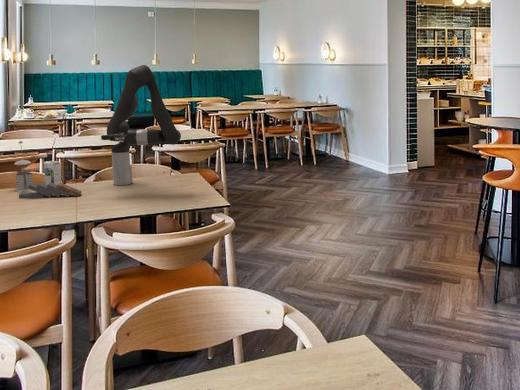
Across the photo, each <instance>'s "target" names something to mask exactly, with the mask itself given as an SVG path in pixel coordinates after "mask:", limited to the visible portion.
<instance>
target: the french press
mask: <svg viewBox="0 0 520 390" xmlns="http://www.w3.org/2000/svg"><path fill="white" fill-rule="evenodd" d="M23 143H24V142H23V141H22V140H19V141H18V144H19V145H22V144H23ZM20 150H21V154H23V150H22V147H20ZM31 164H32V162H31V161H30V160H28V159H23V157H21V159H20V160H16V161H15V162H14V164H13V165H14V166H22V167H21V169H20V170H16V171H15V172H16V174H15V180H16V181H15V182H16V188H15V190H16V191H15V192H18V191H24V192H31V191H33V190H31V189H28V186H29V185H30V184H31V183H34V181H33V180H34V179H33V173H32V170H31V169H27V168H26V166H27V165H31ZM23 166H24V167H23Z"/></svg>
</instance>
